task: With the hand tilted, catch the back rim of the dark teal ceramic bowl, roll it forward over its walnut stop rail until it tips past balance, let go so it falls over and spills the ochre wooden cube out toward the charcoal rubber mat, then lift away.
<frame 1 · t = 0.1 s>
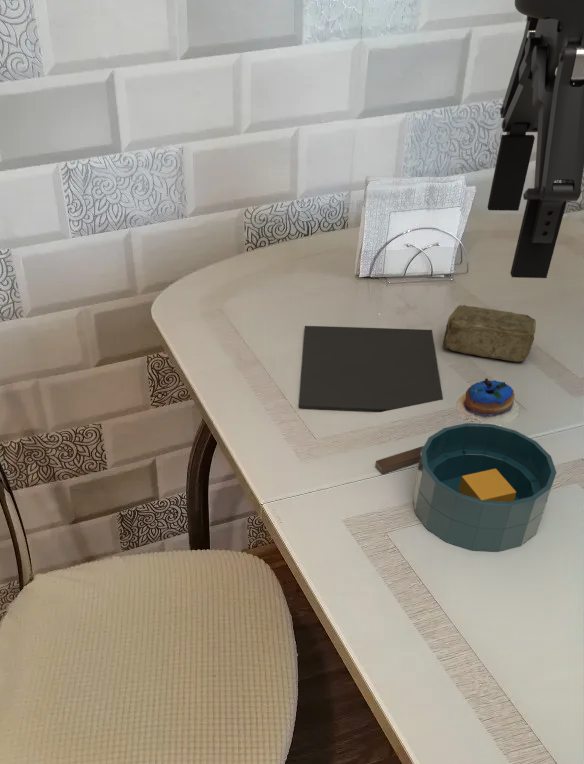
hand: (514, 240, 69), 29 cm above the table, tool pointing down, fingers open, 13 cm apart
mat: (369, 368, 107), on the table
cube: (481, 512, 84), point 1 cm above the table, touching bowl
stop rail: (422, 460, 92), on the table
dessert: (484, 413, 99), on the table
bowl: (474, 511, 85), on the table, touching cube
stone block: (485, 350, 110), on the table
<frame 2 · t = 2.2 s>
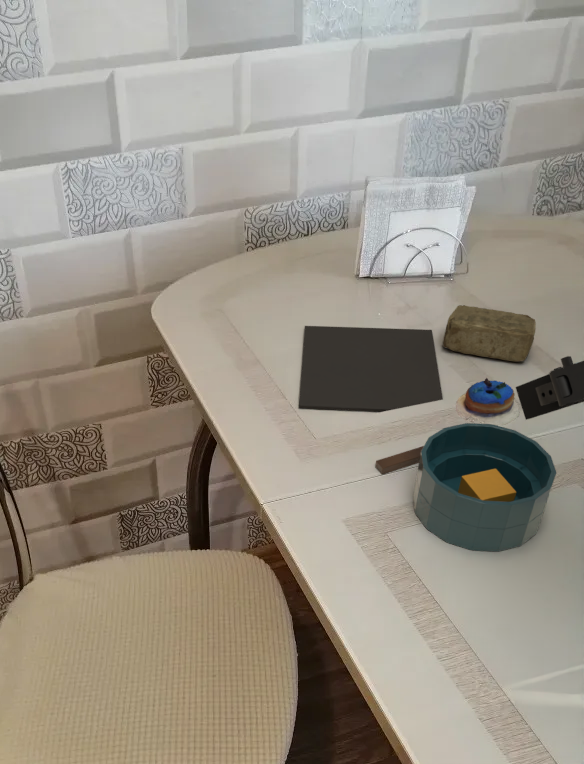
nothing on the table moved.
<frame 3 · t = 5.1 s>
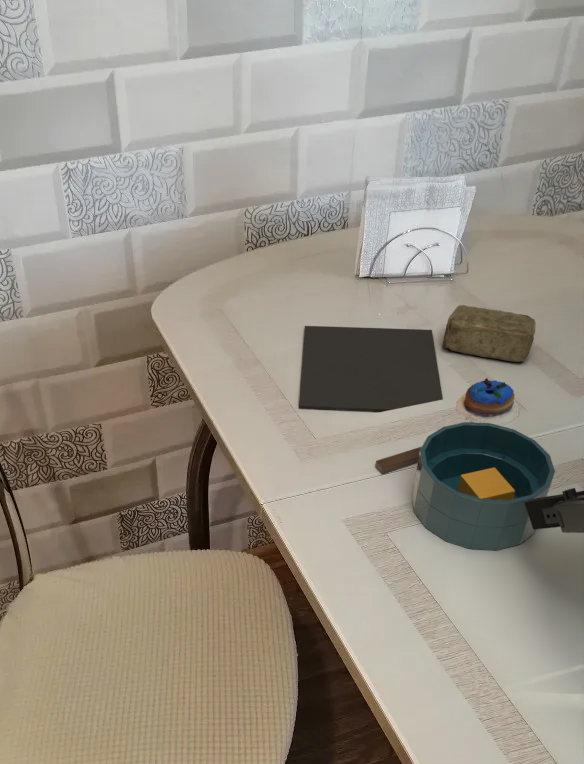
hand: (535, 513, 76), 6 cm above the table, tool tilted 45°, fingers closed
bowl: (473, 510, 85), on the table, touching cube, gripper
everything else where it was.
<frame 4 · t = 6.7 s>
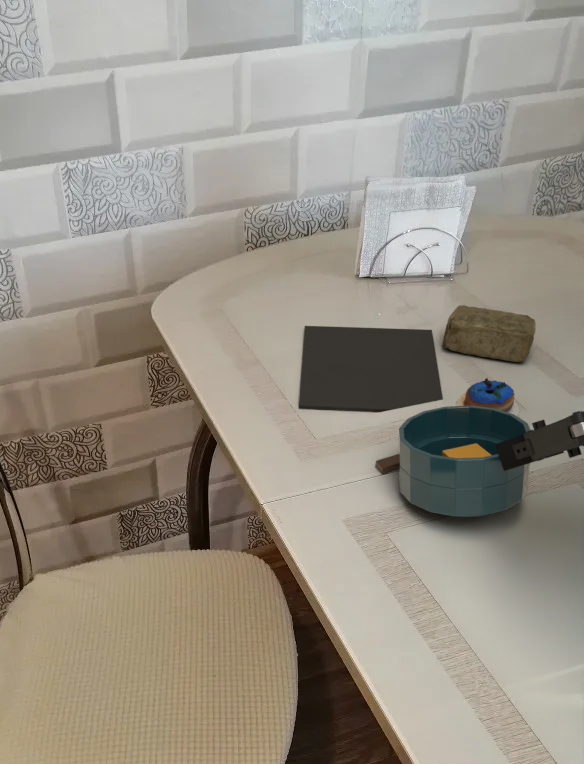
hand: (506, 455, 77), 10 cm above the table, tool tilted 40°, fingers closed
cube: (467, 487, 85), point 2 cm above the table, tilted 13°, touching bowl
bowl: (461, 489, 86), point 2 cm above the table, tilted 13°, touching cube, gripper, stop rail
everything else where it was.
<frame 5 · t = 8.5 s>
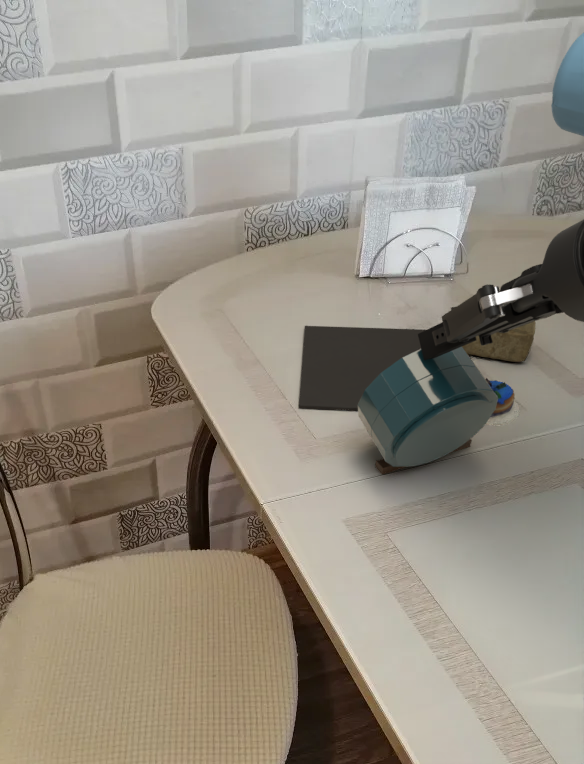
hand: (426, 346, 80), 16 cm above the table, tool tilted 45°, fingers closed
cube: (435, 440, 87), point 5 cm above the table, tilted 69°, touching bowl
bowl: (443, 434, 84), point 7 cm above the table, tilted 71°, touching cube, gripper, stop rail
everything else where it was.
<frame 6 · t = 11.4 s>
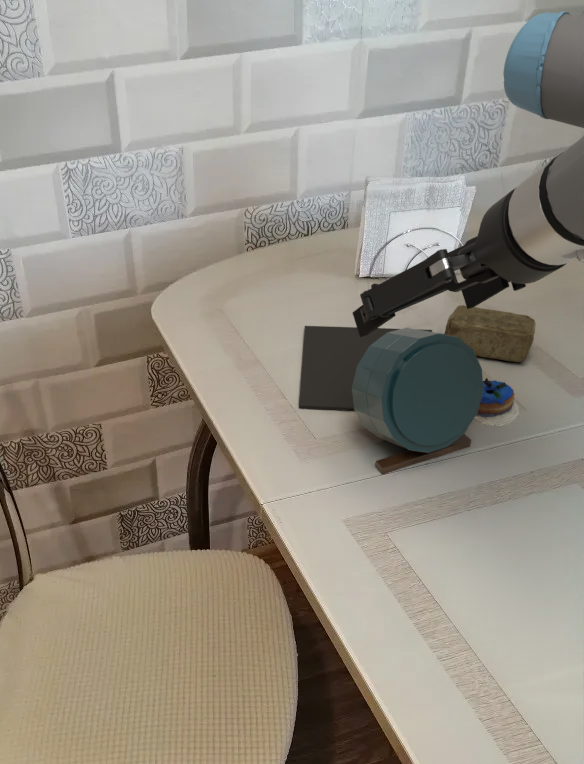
hand: (413, 310, 85), 17 cm above the table, tool tilted 45°, fingers open, 13 cm apart
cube: (386, 388, 98), point 3 cm above the table, tilted 100°, touching mat
bowl: (437, 395, 87), point 9 cm above the table, tilted 112°, touching stop rail
everything else where it was.
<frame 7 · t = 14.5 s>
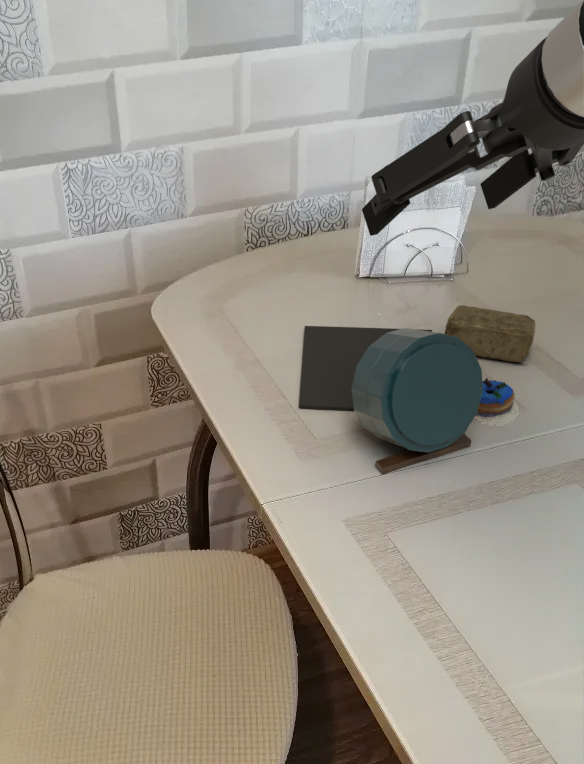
hand: (429, 208, 78), 28 cm above the table, tool tilted 45°, fingers open, 13 cm apart
bowl: (436, 395, 87), point 9 cm above the table, tilted 112°, touching stop rail
everything else where it was.
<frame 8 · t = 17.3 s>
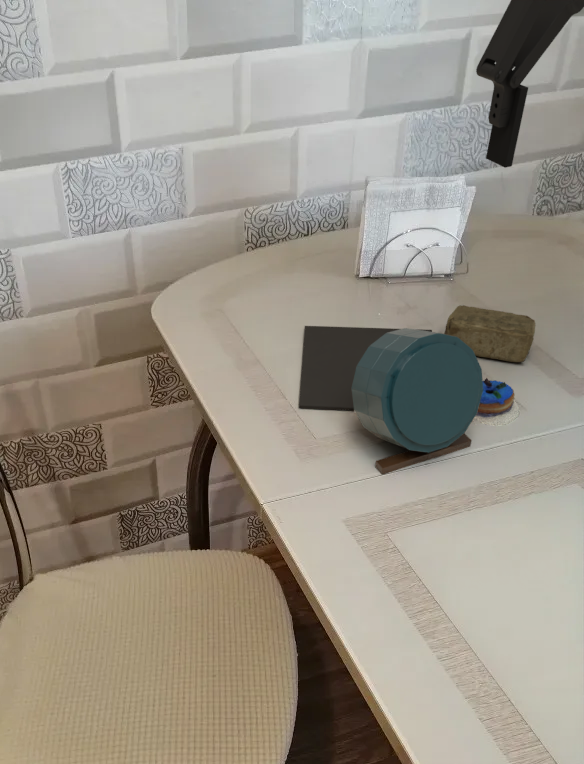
hand: (558, 150, 74), 33 cm above the table, tool pointing down, fingers open, 13 cm apart
nothing on the table moved.
at the end: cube inside the target area on the mat (5.0 cm from its centre), point 2.8 cm above the mat's base; bowl tilted 112° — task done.
